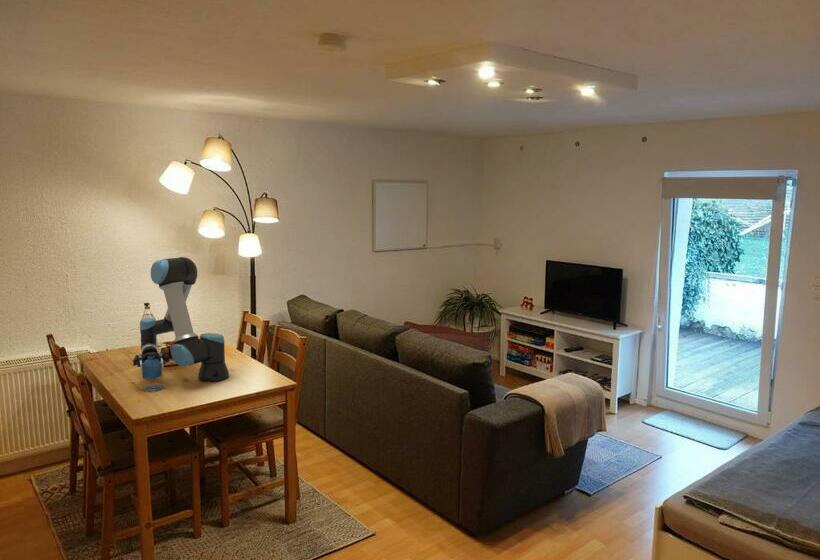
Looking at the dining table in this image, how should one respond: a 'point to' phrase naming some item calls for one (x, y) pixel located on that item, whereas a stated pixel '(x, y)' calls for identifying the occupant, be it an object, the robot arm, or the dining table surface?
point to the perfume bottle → (151, 367)
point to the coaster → (153, 387)
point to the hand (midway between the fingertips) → (152, 365)
